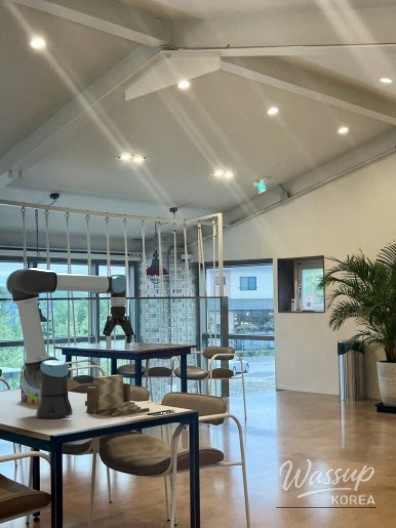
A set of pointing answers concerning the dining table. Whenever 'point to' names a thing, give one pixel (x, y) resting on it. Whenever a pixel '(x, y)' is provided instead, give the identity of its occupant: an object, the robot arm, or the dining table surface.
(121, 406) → the offcut stack
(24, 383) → the snack box
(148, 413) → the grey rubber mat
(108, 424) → the dining table surface
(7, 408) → the dining table surface
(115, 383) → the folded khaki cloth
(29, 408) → the dining table surface
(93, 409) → the rack
